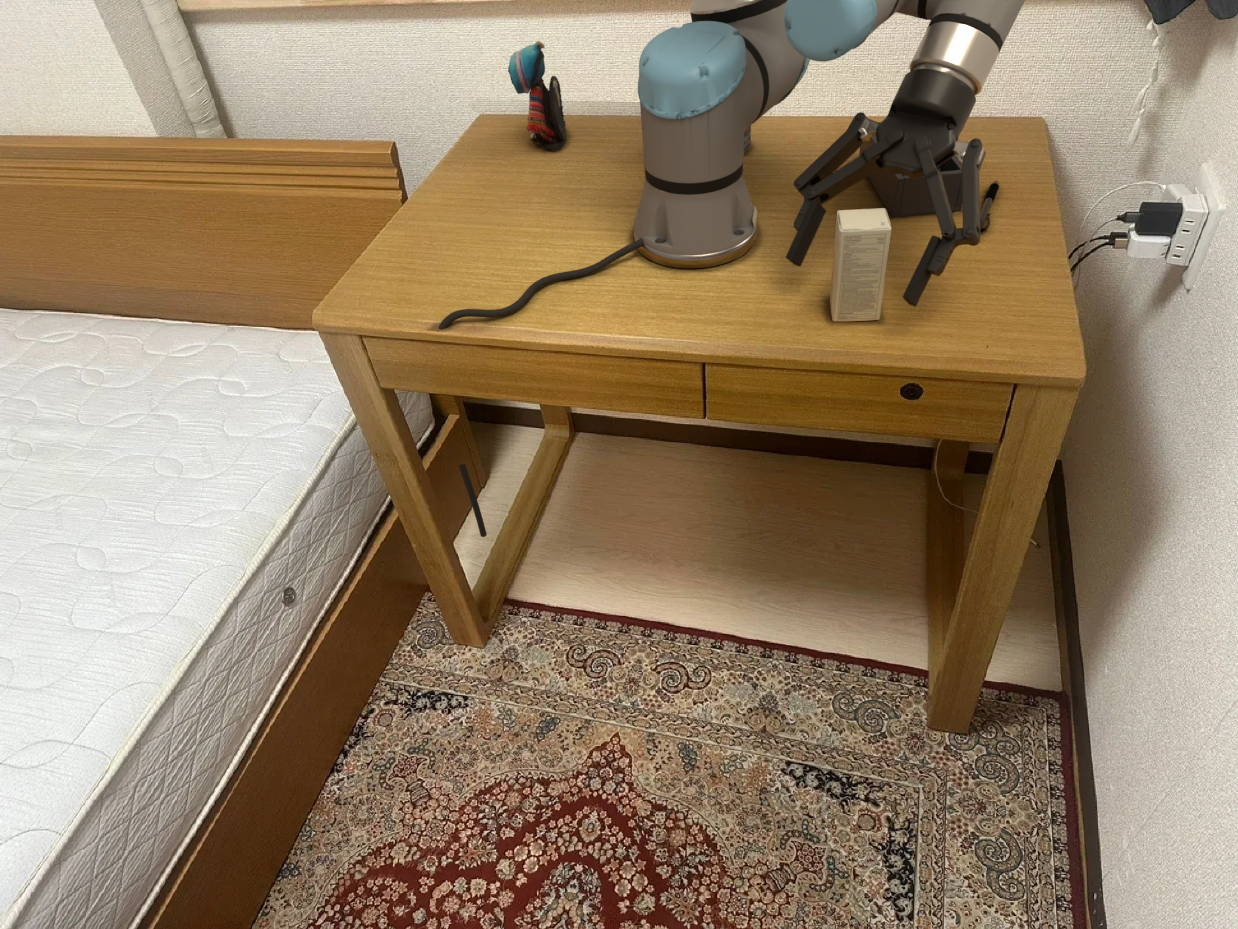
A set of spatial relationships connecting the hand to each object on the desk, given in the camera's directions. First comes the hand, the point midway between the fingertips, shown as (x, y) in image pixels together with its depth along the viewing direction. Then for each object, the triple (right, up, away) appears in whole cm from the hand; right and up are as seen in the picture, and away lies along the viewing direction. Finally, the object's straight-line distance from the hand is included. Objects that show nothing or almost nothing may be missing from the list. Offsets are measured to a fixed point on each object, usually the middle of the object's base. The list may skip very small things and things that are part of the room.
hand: (848, 281), depth 89 cm
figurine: (-35, +30, +42) cm, 63 cm away
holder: (+14, +18, +24) cm, 33 cm away
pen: (+22, +12, +17) cm, 30 cm away
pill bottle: (-8, +27, +36) cm, 45 cm away
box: (+2, -2, +5) cm, 5 cm away
